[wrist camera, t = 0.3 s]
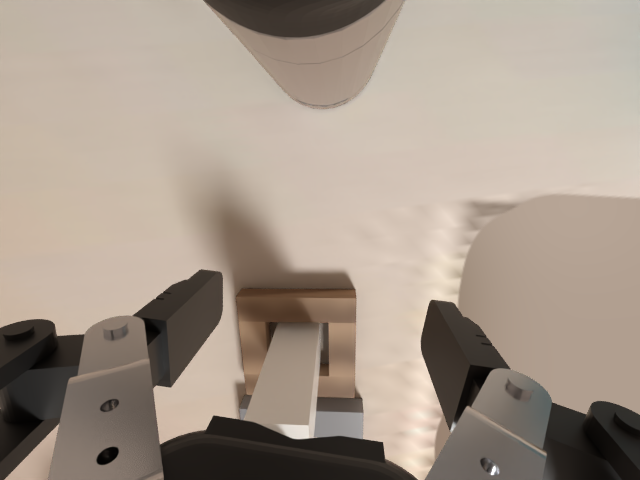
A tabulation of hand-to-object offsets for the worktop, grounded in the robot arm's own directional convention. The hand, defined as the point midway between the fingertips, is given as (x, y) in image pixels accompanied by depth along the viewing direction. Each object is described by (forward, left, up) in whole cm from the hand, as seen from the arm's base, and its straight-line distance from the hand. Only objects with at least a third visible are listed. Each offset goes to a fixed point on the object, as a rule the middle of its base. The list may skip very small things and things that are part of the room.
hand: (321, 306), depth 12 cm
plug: (+14, -4, -18) cm, 23 cm away
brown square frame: (+14, -4, -18) cm, 23 cm away
